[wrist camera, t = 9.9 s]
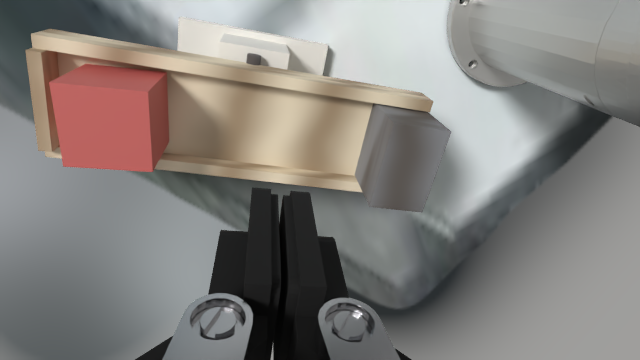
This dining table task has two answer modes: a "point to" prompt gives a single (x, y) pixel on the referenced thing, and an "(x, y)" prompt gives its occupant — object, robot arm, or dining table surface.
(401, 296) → the dining table surface
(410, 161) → the beam
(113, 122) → the block
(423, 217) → the dining table surface
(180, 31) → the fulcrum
